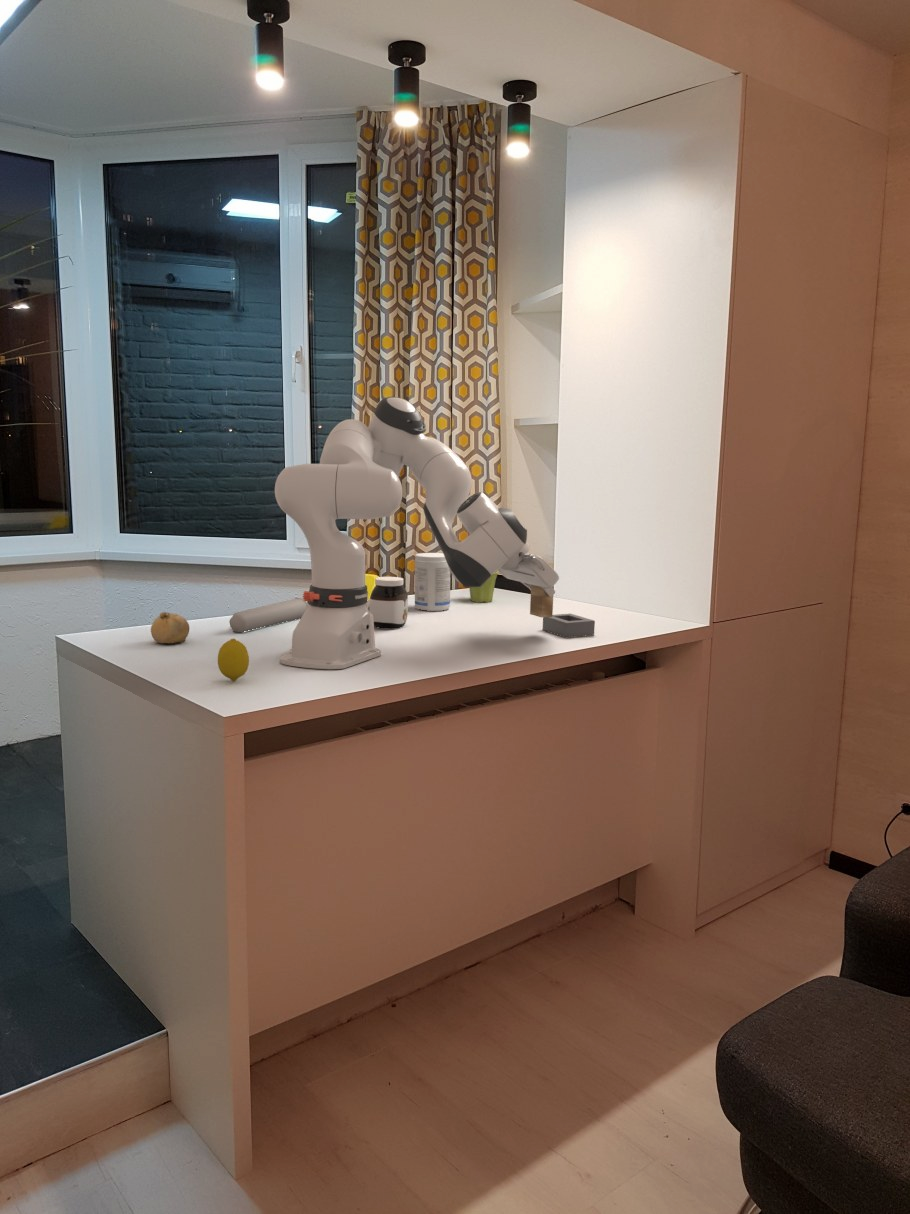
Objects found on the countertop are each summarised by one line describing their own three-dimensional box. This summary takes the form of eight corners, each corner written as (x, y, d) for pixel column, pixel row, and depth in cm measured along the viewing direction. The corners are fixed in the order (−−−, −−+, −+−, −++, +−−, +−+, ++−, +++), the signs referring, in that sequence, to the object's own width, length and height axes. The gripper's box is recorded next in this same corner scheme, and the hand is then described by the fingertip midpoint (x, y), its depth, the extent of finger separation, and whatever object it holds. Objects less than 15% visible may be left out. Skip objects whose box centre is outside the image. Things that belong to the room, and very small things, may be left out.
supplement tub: (448, 606, 251) (450, 552, 249) (450, 612, 242) (452, 557, 239) (413, 605, 251) (414, 552, 248) (414, 611, 241) (415, 556, 239)
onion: (156, 639, 201) (155, 607, 200) (193, 639, 202) (192, 607, 200) (147, 646, 193) (146, 613, 192) (185, 647, 194) (185, 614, 193)
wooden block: (541, 617, 211) (543, 576, 209) (529, 614, 215) (531, 573, 214) (552, 616, 212) (554, 576, 211) (540, 613, 216) (542, 573, 215)
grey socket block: (566, 637, 213) (566, 622, 212) (542, 629, 221) (543, 615, 221) (594, 635, 216) (594, 620, 216) (569, 627, 225) (570, 613, 224)
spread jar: (394, 631, 215) (394, 582, 213) (351, 626, 219) (351, 578, 217) (415, 623, 226) (415, 576, 224) (374, 618, 230) (374, 572, 228)
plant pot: (487, 604, 254) (488, 574, 253) (458, 601, 259) (459, 571, 258) (503, 600, 262) (504, 570, 261) (474, 597, 267) (475, 567, 266)
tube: (245, 618, 206) (311, 602, 228) (227, 609, 208) (295, 594, 230) (239, 639, 208) (306, 621, 230) (222, 630, 210) (290, 613, 232)
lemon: (211, 683, 165) (211, 639, 164) (229, 676, 170) (229, 634, 169) (237, 686, 163) (237, 642, 162) (255, 679, 168) (254, 637, 167)
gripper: (543, 545, 199) (578, 588, 205) (496, 537, 216) (529, 577, 222) (525, 566, 197) (560, 609, 203) (479, 556, 215) (513, 596, 221)
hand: (544, 592), depth 213 cm, fingers closed on wooden block, 5 cm apart
